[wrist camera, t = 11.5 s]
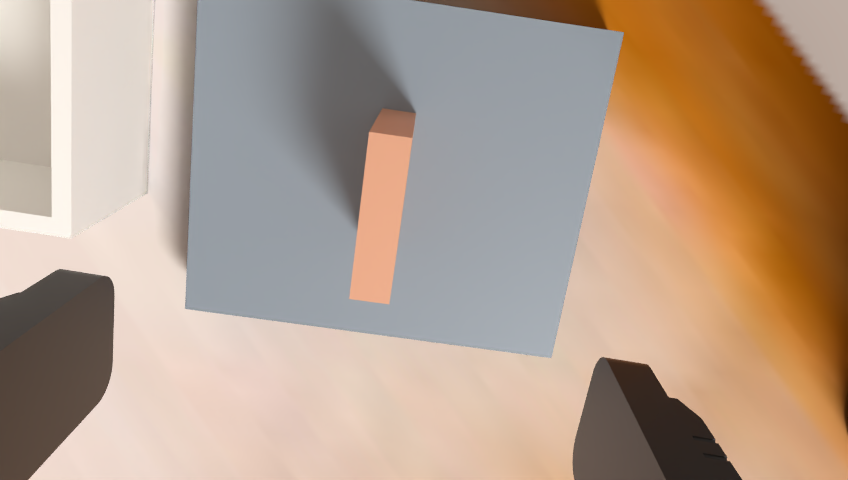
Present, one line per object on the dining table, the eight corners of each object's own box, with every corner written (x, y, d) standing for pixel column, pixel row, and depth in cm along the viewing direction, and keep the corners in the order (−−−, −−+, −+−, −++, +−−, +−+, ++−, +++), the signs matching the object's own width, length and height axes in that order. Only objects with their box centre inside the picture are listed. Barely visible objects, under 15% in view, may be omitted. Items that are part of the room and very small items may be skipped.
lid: (608, 31, 25) (681, 34, 18) (542, 334, 29) (580, 439, 21) (217, -28, 24) (128, -50, 17) (202, 288, 28) (124, 379, 21)
